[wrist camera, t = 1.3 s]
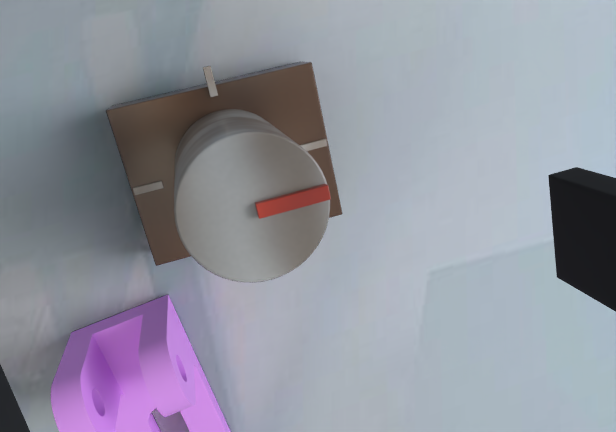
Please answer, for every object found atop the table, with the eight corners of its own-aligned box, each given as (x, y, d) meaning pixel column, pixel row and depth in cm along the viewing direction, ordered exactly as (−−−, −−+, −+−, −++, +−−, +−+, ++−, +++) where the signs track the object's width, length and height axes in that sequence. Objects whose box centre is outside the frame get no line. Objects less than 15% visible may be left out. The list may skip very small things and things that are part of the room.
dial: (192, 233, 29) (198, 304, 21) (160, 124, 27) (153, 155, 19) (298, 204, 30) (345, 262, 21) (274, 97, 28) (315, 115, 20)
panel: (162, 265, 32) (160, 283, 29) (105, 87, 29) (99, 91, 26) (333, 217, 33) (346, 230, 31) (297, 44, 30) (308, 43, 28)
